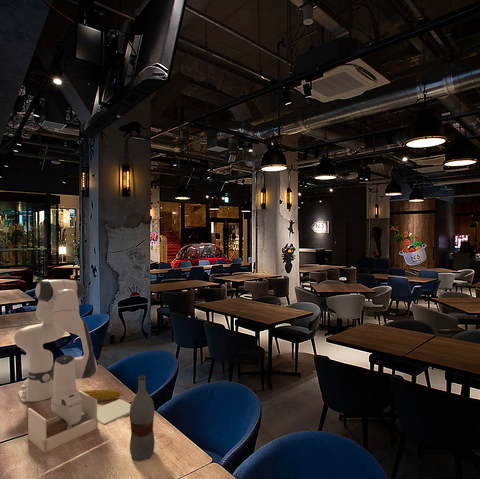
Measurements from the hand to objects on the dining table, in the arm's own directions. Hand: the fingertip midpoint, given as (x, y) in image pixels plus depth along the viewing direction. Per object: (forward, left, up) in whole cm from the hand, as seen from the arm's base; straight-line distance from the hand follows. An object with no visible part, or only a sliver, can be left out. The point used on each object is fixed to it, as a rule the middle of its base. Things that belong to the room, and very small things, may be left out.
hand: (65, 427), depth 146 cm
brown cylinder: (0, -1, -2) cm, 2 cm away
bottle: (+39, +11, -3) cm, 41 cm away
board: (0, +22, -3) cm, 22 cm away
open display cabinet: (0, -1, -3) cm, 3 cm away
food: (-18, +25, -3) cm, 31 cm away
